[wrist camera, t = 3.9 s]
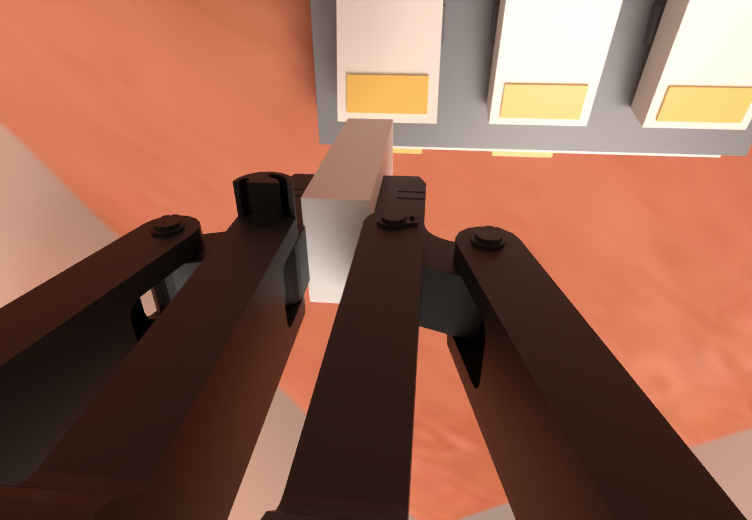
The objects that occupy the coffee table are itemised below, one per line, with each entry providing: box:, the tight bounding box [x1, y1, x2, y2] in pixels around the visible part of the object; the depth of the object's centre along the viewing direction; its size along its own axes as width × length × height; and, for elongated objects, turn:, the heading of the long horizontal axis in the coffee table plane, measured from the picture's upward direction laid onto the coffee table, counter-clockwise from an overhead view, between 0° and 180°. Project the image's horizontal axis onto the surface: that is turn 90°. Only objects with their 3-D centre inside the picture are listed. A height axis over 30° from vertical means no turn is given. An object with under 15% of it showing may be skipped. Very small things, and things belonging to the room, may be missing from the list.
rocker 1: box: [336, 0, 443, 124], centre depth 22 cm, size 8×4×2 cm, turn 1°
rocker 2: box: [486, 0, 623, 126], centre depth 21 cm, size 8×4×2 cm, turn 179°
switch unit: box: [310, 0, 752, 157], centre depth 25 cm, size 13×22×6 cm, turn 90°
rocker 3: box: [631, 0, 752, 130], centre depth 21 cm, size 8×4×2 cm, turn 179°
